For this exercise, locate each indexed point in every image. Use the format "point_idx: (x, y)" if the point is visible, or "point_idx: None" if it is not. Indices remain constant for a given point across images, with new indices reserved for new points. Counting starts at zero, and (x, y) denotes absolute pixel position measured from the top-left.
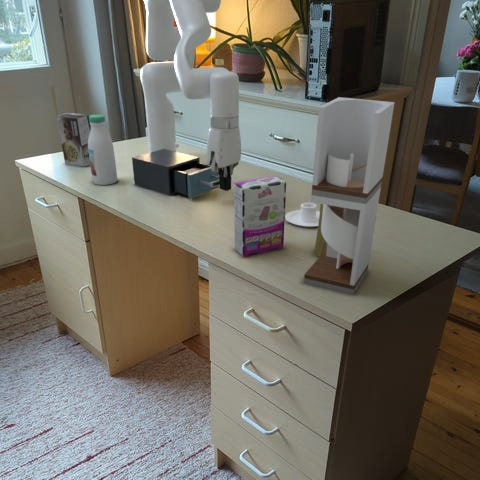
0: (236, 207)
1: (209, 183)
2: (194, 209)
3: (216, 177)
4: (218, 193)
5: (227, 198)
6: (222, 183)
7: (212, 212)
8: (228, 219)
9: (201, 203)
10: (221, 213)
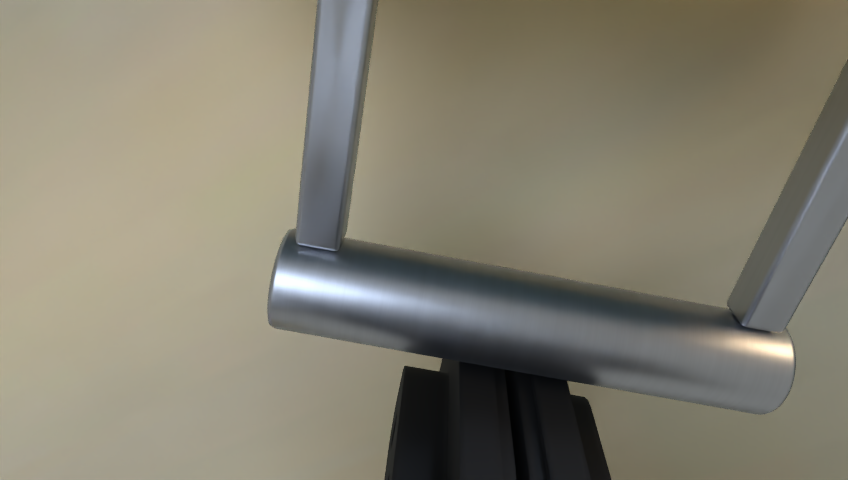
0: None
1: (295, 238)
2: (30, 70)
3: (827, 132)
4: (774, 26)
5: (608, 236)
6: (390, 458)
7: (116, 295)
8: (91, 472)
9: (263, 29)
10: (159, 375)
